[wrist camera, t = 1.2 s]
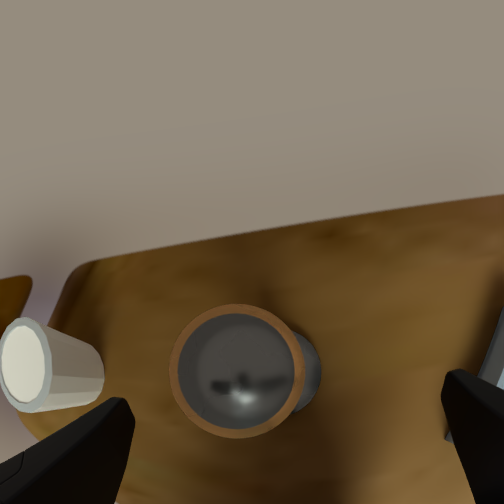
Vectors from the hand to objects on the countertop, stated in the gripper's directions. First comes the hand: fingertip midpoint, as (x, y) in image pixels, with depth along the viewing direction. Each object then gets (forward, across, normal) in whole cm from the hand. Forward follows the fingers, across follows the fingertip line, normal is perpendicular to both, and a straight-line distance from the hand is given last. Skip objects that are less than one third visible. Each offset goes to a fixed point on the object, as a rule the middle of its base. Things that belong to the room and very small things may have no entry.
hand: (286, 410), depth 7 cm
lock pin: (+11, +1, +8) cm, 14 cm away
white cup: (+12, +18, +8) cm, 23 cm away
